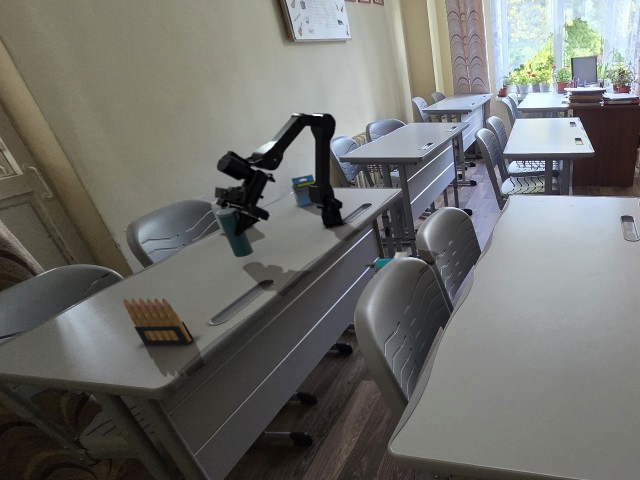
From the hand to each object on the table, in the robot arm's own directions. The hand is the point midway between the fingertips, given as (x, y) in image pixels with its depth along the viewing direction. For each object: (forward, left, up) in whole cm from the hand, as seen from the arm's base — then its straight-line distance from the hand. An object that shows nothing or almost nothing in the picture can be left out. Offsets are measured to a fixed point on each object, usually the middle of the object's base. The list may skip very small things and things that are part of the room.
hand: (230, 234), depth 121 cm
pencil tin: (-1, -1, -7) cm, 7 cm away
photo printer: (+5, -34, -10) cm, 36 cm away
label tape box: (-21, -52, -10) cm, 57 cm away
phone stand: (-44, +25, -10) cm, 52 cm away
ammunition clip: (+12, +38, -10) cm, 41 cm away
